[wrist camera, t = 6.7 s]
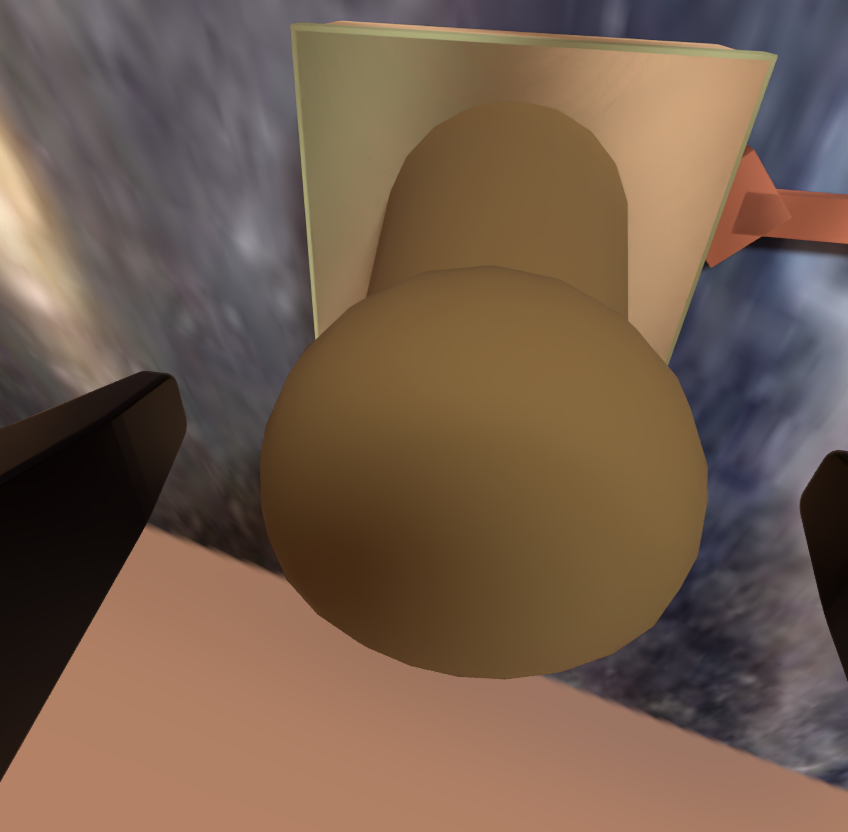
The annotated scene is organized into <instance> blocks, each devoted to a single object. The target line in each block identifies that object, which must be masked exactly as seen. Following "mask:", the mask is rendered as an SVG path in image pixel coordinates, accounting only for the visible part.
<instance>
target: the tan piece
mask: <svg viewBox="0 0 848 832" xmlns="http://www.w3.org/2000/svg"><path fill="white" fill-rule="evenodd" d="M290 27H291V40H292V53H293V65H294V78H295V90H296V103H297V115H298V128H299V140H300V153H301V165H302V178H303V190H304V203H305V215H306V228H307V240H308V253H309V265H310V278H311V290H312V303H313V315H314V328H315V340H316V339H317V338H318V337H319V336H320V335H321V334H322V333H323V332H324V331H325V330H326V329H327V328H328V327H329V326H330V325H331V324H333V323H334V322H335V321H336V320H337V319H338V318H339V317H340V316H341V315H342V314H343V313H344V312H345V311H346V310H347V309H348V308H349V307H351V306H353V305H354V304H356V303H358V302H360V301H361V300H363V299H365V298H366V295H367V291H368V286H369V282H370V278H371V273H372V269H373V265H374V260H375V256H376V251H377V247H378V243H379V238H380V234H381V229H382V225H383V221H384V216H385V212H386V208H387V203H388V199H389V194H390V191H391V189H392V187H393V185H394V182H395V180H396V178H397V176H398V174H399V172H400V169H401V167H402V165H403V163H404V161H405V159H406V156H407V155H408V154H409V153H410V152H411V151H412V150H413V149H414V148H415V147H416V146H417V145H418V144H419V143H420V142H421V140H422V139H423V138H424V137H425V136H426V135H427V134H428V133H429V132H430V131H431V130H432V129H433V128H434V127H435V126H436V125H438V124H440V123H442V122H444V121H446V120H448V119H450V118H451V117H453V116H455V115H457V114H459V113H461V112H463V111H465V110H466V109H468V108H470V107H473V106H479V105H486V104H492V103H499V102H506V101H512V100H516V101H520V102H525V103H530V104H535V105H540V106H545V107H550V108H555V109H557V110H559V111H560V112H562V113H563V114H565V115H567V116H568V117H570V118H571V119H573V120H574V121H576V122H578V123H579V124H581V125H582V126H584V127H586V128H587V129H589V130H590V131H592V133H593V134H594V135H595V137H596V138H597V139H598V141H599V142H600V143H601V145H602V146H603V147H604V149H605V150H606V151H607V153H608V154H609V155H610V157H611V158H612V159H613V161H614V162H615V163H616V165H617V168H618V172H619V175H620V179H621V182H622V185H623V189H624V192H625V195H626V199H627V202H628V322H630V323H631V324H632V325H633V326H634V327H635V328H636V329H637V330H638V331H639V333H640V334H641V335H642V336H643V337H644V338H645V340H646V341H647V342H648V343H649V344H650V346H651V347H652V348H653V349H654V350H655V352H656V353H657V354H658V355H659V356H660V358H661V359H662V360H663V361H664V362H665V364H666V365H667V366H668V364H669V361H670V358H671V355H672V352H673V349H674V347H675V344H676V341H677V338H678V335H679V333H680V330H681V327H682V324H683V321H684V319H685V316H686V313H687V310H688V307H689V305H690V302H691V299H692V296H693V293H694V290H695V288H696V285H697V282H698V279H699V276H700V274H701V271H702V268H703V265H704V262H705V260H706V261H707V263H708V264H709V266H710V267H711V268H712V267H713V266H715V265H716V264H718V263H720V262H721V261H723V260H724V259H726V258H728V257H729V256H731V255H733V254H734V253H736V252H737V251H739V250H741V249H742V248H744V247H745V246H747V245H749V244H750V243H752V242H753V241H755V240H757V239H758V238H760V237H761V236H765V237H777V238H788V239H800V240H811V241H823V242H834V243H846V244H848V195H845V194H833V193H820V192H808V191H796V190H783V189H776V188H775V187H774V185H773V183H772V181H771V179H770V178H769V176H768V174H767V172H766V170H765V169H764V167H763V165H762V163H761V161H760V160H759V158H758V156H757V154H756V152H755V151H754V149H752V148H751V147H749V146H748V145H746V144H747V141H748V139H749V136H750V133H751V130H752V127H753V125H754V122H755V119H756V116H757V113H758V111H759V108H760V105H761V102H762V99H763V96H764V94H765V91H766V88H767V85H768V82H769V80H770V77H771V74H772V71H773V68H774V66H775V63H776V60H777V57H778V55H774V54H771V53H767V52H761V51H745V50H734V49H731V48H728V47H725V46H721V45H718V44H704V43H688V42H672V41H656V40H640V39H624V38H608V37H592V36H576V35H560V34H544V33H528V32H513V31H497V30H481V29H465V28H449V27H433V26H417V25H401V24H385V23H369V22H353V21H337V22H332V23H327V24H318V23H302V22H301V23H296V24H290Z"/></svg>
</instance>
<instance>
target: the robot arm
mask: <svg viewBox="0 0 848 832" xmlns="http://www.w3.org/2000/svg"><path fill="white" fill-rule="evenodd" d="M186 427H187V421H186V416H185V412H184V408H183V404H182V400H181V396H180V393H179V389H178V385H177V382H176V380H175V378H174V377H173V376H172V375H170V374H168V373H160V372H152V371H141V372H138V373H136V374H133V375H131V376H129V377H126V378H124V379H121V380H119V381H116V382H114V383H111V384H109V385H106V386H104V387H102V388H99V389H97V390H94V391H92V392H89V393H87V394H84V395H82V396H80V397H77V398H75V399H72V400H70V401H67V402H65V403H62V404H60V405H58V406H55V407H53V408H50V409H48V410H45V411H43V412H40V413H38V414H35V415H33V416H31V417H28V418H26V419H23V420H21V421H18V422H16V423H13V424H11V425H9V426H6V427H4V428H1V429H0V782H1V780H2V778H3V776H4V775H5V773H6V771H7V770H8V768H9V766H10V764H11V762H12V761H13V759H14V757H15V755H16V754H17V752H18V750H19V748H20V747H21V745H22V743H23V741H24V740H25V738H26V736H27V734H28V733H29V731H30V729H31V727H32V725H33V724H34V722H35V720H36V718H37V717H38V715H39V713H40V711H41V710H42V708H43V706H44V704H45V702H46V701H47V699H48V697H49V695H50V694H51V692H52V690H53V688H54V687H55V685H56V683H57V681H58V680H59V678H60V676H61V674H62V673H63V671H64V669H65V667H66V665H67V664H68V662H69V660H70V659H71V657H72V655H73V653H74V651H75V650H76V648H77V646H78V644H79V643H80V641H81V639H82V637H83V636H84V634H85V632H86V630H87V629H88V627H89V625H90V623H91V622H92V620H93V618H94V616H95V614H96V613H97V611H98V609H99V607H100V606H101V604H102V602H103V600H104V599H105V597H106V595H107V593H108V591H109V590H110V588H111V586H112V584H113V583H114V581H115V579H116V577H117V576H118V574H119V572H120V570H121V569H122V567H123V565H124V563H125V562H126V560H127V558H128V556H129V555H130V553H131V551H132V549H133V547H134V546H135V544H136V542H137V540H138V539H139V537H140V535H141V533H142V531H143V529H144V528H145V526H146V524H147V522H148V520H149V518H150V516H151V513H152V511H153V509H154V507H155V505H156V502H157V500H158V498H159V495H160V493H161V491H162V488H163V486H164V483H165V481H166V479H167V476H168V474H169V472H170V469H171V467H172V465H173V462H174V460H175V458H176V455H177V453H178V451H179V448H180V446H181V444H182V441H183V439H184V436H185V433H186ZM800 514H801V519H802V523H803V527H804V532H805V536H806V540H807V544H808V549H809V553H810V557H811V562H812V566H813V570H814V575H815V579H816V583H817V588H818V592H819V596H820V600H821V604H822V607H823V611H824V615H825V618H826V621H827V624H828V627H829V630H830V633H831V636H832V639H833V641H834V644H835V647H836V650H837V653H838V655H839V658H840V661H841V664H842V667H843V669H844V672H845V675H846V678H847V681H848V451H842V450H836V451H832V452H830V453H829V454H828V455H826V457H825V458H824V459H823V461H822V463H821V464H820V466H819V467H818V469H817V471H816V472H815V474H814V475H813V477H812V479H811V480H810V482H809V483H808V485H807V487H806V488H805V490H804V491H803V493H802V496H801V499H800Z"/></svg>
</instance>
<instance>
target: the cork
mask: <svg viewBox="0 0 848 832" xmlns="http://www.w3.org/2000/svg"><path fill="white" fill-rule="evenodd" d="M707 472H708V466H707V463H706V459H705V456H704V453H703V449H702V446H701V442H700V439H699V436H698V432H697V429H696V426H695V422H694V419H693V416H692V412H691V409H690V406H689V404H688V402H687V399H686V397H685V395H684V392H683V390H682V387H681V385H680V383H679V380H678V378H677V377H676V375H675V374H674V373H673V372H672V371H671V370H670V368H669V367H668V366H667V365H666V364H665V362H664V361H663V360H662V359H661V358H660V356H659V355H658V354H657V353H656V352H655V350H654V349H653V348H652V347H651V346H650V344H649V343H648V342H647V341H646V340H645V338H644V337H643V336H642V335H641V334H640V333H639V331H638V330H637V329H636V328H635V327H634V326H633V325H632V324H631V323H630V322H628V202H627V199H626V195H625V192H624V189H623V185H622V182H621V179H620V175H619V172H618V168H617V165H616V163H615V162H614V161H613V159H612V158H611V157H610V155H609V154H608V153H607V151H606V150H605V149H604V147H603V146H602V145H601V143H600V142H599V141H598V139H597V138H596V137H595V135H594V134H593V133H592V131H590V130H589V129H587V128H586V127H584V126H582V125H581V124H579V123H578V122H576V121H574V120H573V119H571V118H570V117H568V116H567V115H565V114H563V113H562V112H560V111H559V110H557V109H555V108H550V107H545V106H540V105H535V104H530V103H525V102H520V101H516V100H512V101H506V102H499V103H492V104H486V105H479V106H473V107H470V108H468V109H466V110H465V111H463V112H461V113H459V114H457V115H455V116H453V117H451V118H450V119H448V120H446V121H444V122H442V123H440V124H438V125H436V126H435V127H434V128H433V129H432V130H431V131H430V132H429V133H428V134H427V135H426V136H425V137H424V138H423V139H422V140H421V142H420V143H419V144H418V145H417V146H416V147H415V148H414V149H413V150H412V151H411V152H410V153H409V154H408V155H407V156H406V159H405V161H404V163H403V165H402V167H401V169H400V172H399V174H398V176H397V178H396V180H395V182H394V185H393V187H392V189H391V191H390V194H389V199H388V203H387V208H386V212H385V216H384V221H383V225H382V229H381V234H380V238H379V243H378V247H377V251H376V256H375V260H374V265H373V269H372V273H371V278H370V282H369V286H368V291H367V295H366V298H365V299H363V300H361V301H360V302H358V303H356V304H354V305H353V306H351V307H349V308H348V309H347V310H346V311H345V312H344V313H343V314H342V315H341V316H340V317H339V318H338V319H337V320H336V321H335V322H334V323H333V324H331V325H330V326H329V327H328V328H327V329H326V330H325V331H324V332H323V333H322V334H321V335H320V336H319V337H318V338H317V339H316V340H315V341H313V342H312V343H311V344H310V345H309V346H308V347H307V348H306V349H305V351H304V352H303V354H302V355H301V357H300V358H299V360H298V361H297V363H296V364H295V365H294V367H293V368H292V370H291V371H290V373H289V374H288V376H287V379H286V381H285V383H284V386H283V388H282V390H281V392H280V395H279V397H278V399H277V402H276V404H275V406H274V409H273V411H272V413H271V415H270V418H269V420H268V422H267V425H266V429H265V434H264V439H263V444H262V449H261V454H260V497H261V510H262V514H263V518H264V522H265V526H266V530H267V534H268V538H269V541H270V543H271V545H272V548H273V550H274V552H275V554H276V557H277V559H278V561H279V564H280V566H281V568H282V570H283V573H284V575H285V577H286V579H287V581H288V582H289V583H290V584H291V585H292V586H293V587H294V588H295V590H296V591H297V592H298V593H299V594H300V595H301V596H302V597H303V599H304V600H305V601H306V602H307V603H308V604H309V605H310V606H311V608H313V610H314V611H315V612H316V613H317V614H318V615H319V616H321V617H322V618H324V619H325V620H327V621H328V622H330V623H331V624H332V625H334V626H335V627H337V628H338V629H340V630H341V631H343V632H344V633H346V634H347V635H349V636H350V637H352V638H353V639H354V640H356V641H357V642H359V643H361V644H363V645H364V646H366V647H368V648H370V649H372V650H375V651H377V652H379V653H382V654H384V655H386V656H389V657H391V658H393V659H396V660H398V661H401V662H403V663H405V664H408V665H410V666H414V667H418V668H422V669H427V670H431V671H435V672H440V673H444V674H449V675H453V676H457V677H474V678H475V677H476V678H491V679H511V678H519V677H527V676H535V675H543V674H551V673H556V672H561V671H565V670H568V669H571V668H574V667H577V666H580V665H583V664H585V663H588V662H591V661H594V660H597V659H600V658H603V657H606V656H608V655H611V654H614V653H615V652H617V651H618V650H619V649H621V648H622V647H624V646H625V645H627V644H628V643H630V642H631V641H633V640H634V639H635V638H637V637H638V636H640V635H641V634H643V633H644V632H646V631H647V630H649V629H650V628H652V627H653V626H654V625H655V623H656V622H657V620H658V619H659V618H660V616H661V615H662V613H663V612H664V610H665V609H666V608H667V606H668V605H669V603H670V602H671V600H672V599H673V598H674V596H675V595H676V593H677V592H678V590H679V589H680V587H681V586H682V584H683V582H684V580H685V578H686V576H687V575H688V573H689V571H690V569H691V567H692V565H693V564H694V562H695V560H696V558H697V556H698V552H699V546H700V540H701V535H702V529H703V523H704V517H705V511H706V506H707Z"/></svg>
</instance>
